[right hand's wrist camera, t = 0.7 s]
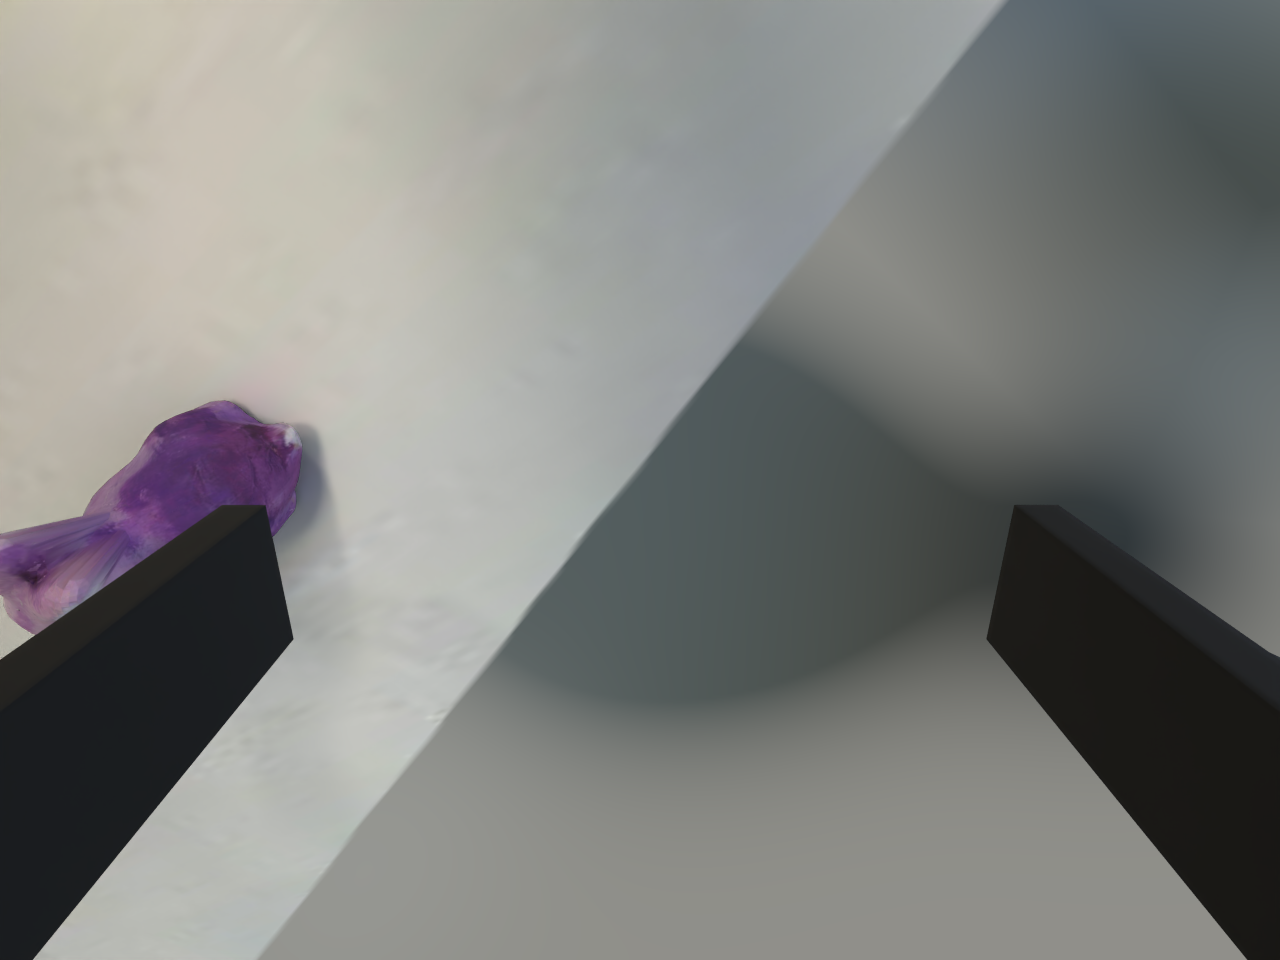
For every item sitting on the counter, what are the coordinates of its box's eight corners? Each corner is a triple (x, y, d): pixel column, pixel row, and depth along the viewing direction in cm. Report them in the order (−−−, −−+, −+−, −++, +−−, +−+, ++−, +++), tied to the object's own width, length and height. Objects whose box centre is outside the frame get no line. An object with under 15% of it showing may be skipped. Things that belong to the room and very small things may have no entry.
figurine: (151, 538, 43) (-85, 695, 29) (148, 379, 39) (-122, 471, 25) (306, 569, 44) (149, 737, 30) (317, 416, 40) (145, 525, 26)
